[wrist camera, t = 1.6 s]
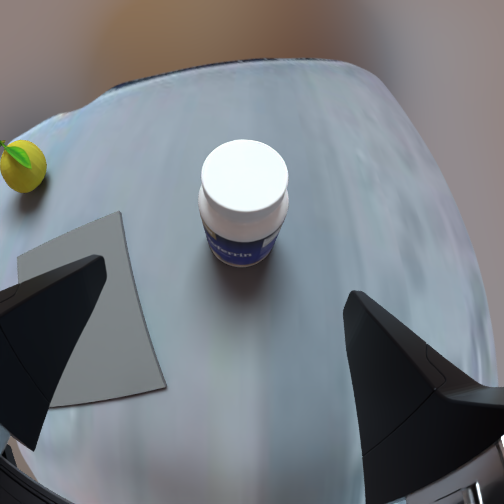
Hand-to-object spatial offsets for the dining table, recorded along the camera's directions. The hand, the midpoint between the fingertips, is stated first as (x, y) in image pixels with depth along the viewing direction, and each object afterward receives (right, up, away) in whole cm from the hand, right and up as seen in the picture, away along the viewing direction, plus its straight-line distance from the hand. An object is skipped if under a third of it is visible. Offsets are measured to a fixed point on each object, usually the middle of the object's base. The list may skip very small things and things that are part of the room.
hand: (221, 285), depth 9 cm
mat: (-15, -5, +11) cm, 19 cm away
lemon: (-25, +9, +15) cm, 30 cm away
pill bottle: (0, +2, +14) cm, 15 cm away
